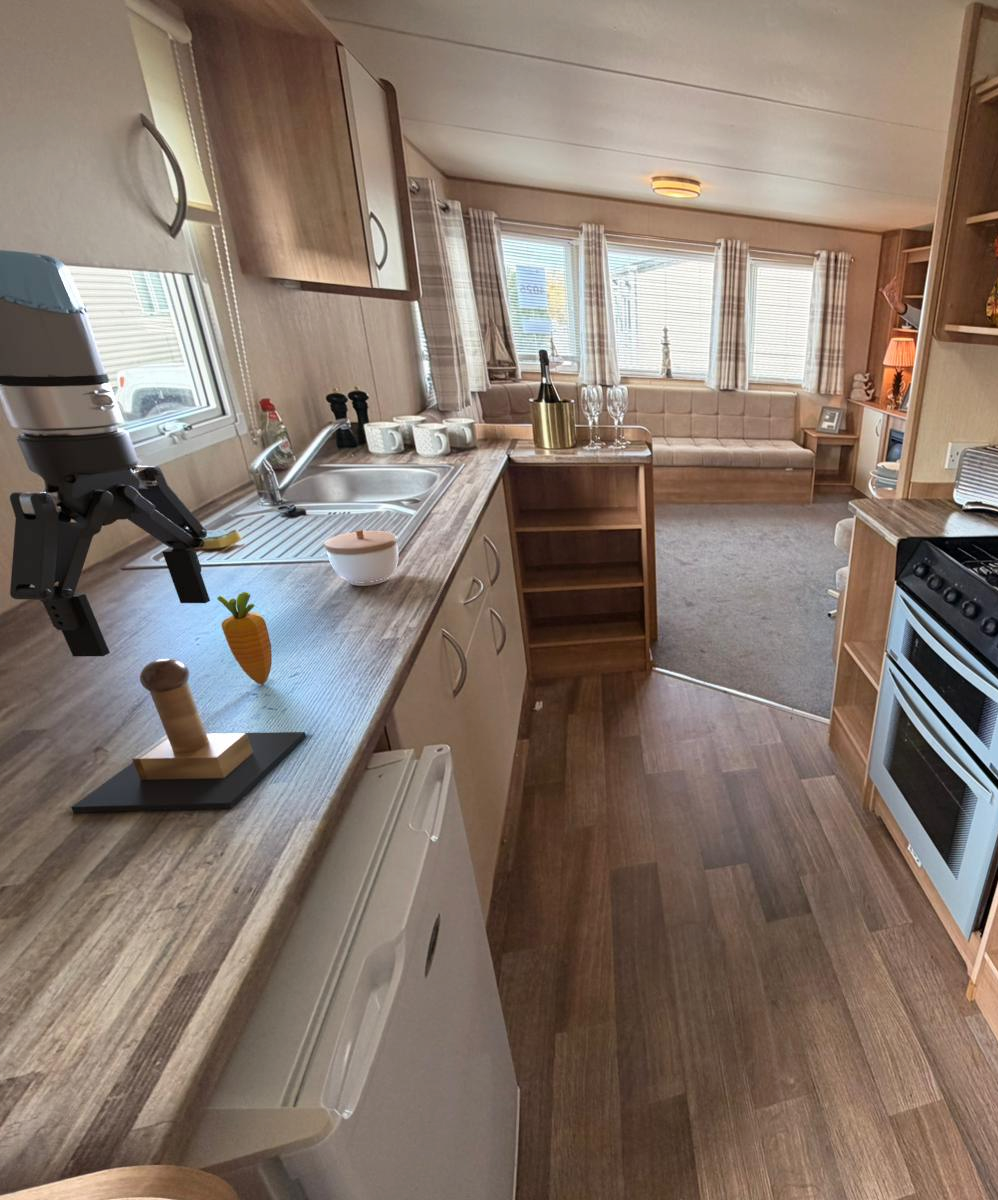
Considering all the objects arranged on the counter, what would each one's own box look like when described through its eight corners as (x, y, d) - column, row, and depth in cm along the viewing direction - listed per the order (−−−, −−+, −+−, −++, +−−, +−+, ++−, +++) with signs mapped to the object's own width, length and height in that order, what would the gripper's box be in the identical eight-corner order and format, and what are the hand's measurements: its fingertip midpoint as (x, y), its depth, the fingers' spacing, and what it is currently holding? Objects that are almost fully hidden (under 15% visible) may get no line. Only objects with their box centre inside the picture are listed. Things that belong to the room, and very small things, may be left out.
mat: (73, 812, 70) (70, 807, 70) (174, 738, 83) (172, 733, 83) (231, 808, 72) (229, 803, 72) (306, 736, 85) (304, 731, 85)
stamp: (140, 780, 74) (94, 671, 69) (174, 754, 79) (133, 650, 74) (224, 778, 76) (185, 671, 70) (253, 752, 80) (219, 650, 75)
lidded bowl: (329, 576, 136) (317, 527, 132) (396, 566, 144) (387, 519, 140) (339, 595, 127) (326, 542, 123) (410, 582, 135) (400, 533, 131)
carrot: (232, 688, 95) (201, 596, 89) (267, 673, 99) (239, 584, 93) (257, 695, 93) (227, 601, 88) (291, 679, 98) (264, 589, 92)
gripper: (-23, 452, 51) (80, 682, 59) (210, 415, 74) (261, 585, 82) (-131, 450, 50) (-11, 683, 58) (138, 413, 73) (197, 584, 81)
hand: (148, 626), depth 70 cm, fingers open, 13 cm apart
